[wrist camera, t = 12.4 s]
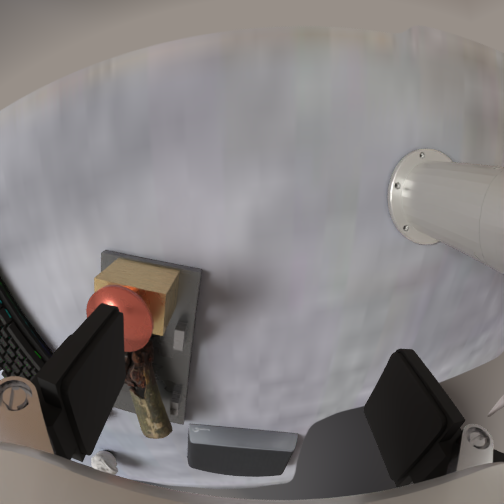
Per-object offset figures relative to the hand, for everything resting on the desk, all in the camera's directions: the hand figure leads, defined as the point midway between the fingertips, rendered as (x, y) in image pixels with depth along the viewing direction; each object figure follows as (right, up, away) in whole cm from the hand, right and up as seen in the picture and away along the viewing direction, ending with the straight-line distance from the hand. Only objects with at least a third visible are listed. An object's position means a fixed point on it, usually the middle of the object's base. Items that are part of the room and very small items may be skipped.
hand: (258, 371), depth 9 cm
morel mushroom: (-15, -14, +29) cm, 36 cm away
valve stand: (-15, -10, +30) cm, 35 cm away
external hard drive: (-2, -32, +38) cm, 50 cm away
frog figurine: (-32, -40, +39) cm, 65 cm away
